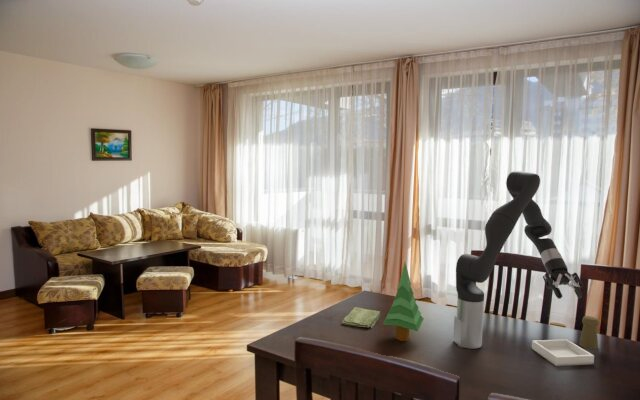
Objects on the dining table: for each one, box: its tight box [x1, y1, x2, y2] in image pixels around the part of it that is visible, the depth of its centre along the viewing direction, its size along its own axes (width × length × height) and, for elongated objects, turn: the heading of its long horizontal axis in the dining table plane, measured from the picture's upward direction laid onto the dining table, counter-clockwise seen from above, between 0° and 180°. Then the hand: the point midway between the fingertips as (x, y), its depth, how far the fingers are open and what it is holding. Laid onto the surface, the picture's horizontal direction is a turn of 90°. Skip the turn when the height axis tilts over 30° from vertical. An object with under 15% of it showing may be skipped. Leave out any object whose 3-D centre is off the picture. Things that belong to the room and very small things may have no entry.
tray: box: [531, 338, 595, 367], centre depth 154 cm, size 14×14×3 cm
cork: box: [578, 315, 600, 350], centre depth 163 cm, size 6×6×11 cm
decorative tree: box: [382, 262, 424, 342], centre depth 166 cm, size 14×16×30 cm
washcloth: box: [341, 306, 381, 329], centre depth 186 cm, size 13×18×3 cm
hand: (570, 297), depth 173 cm, fingers open, 8 cm apart
